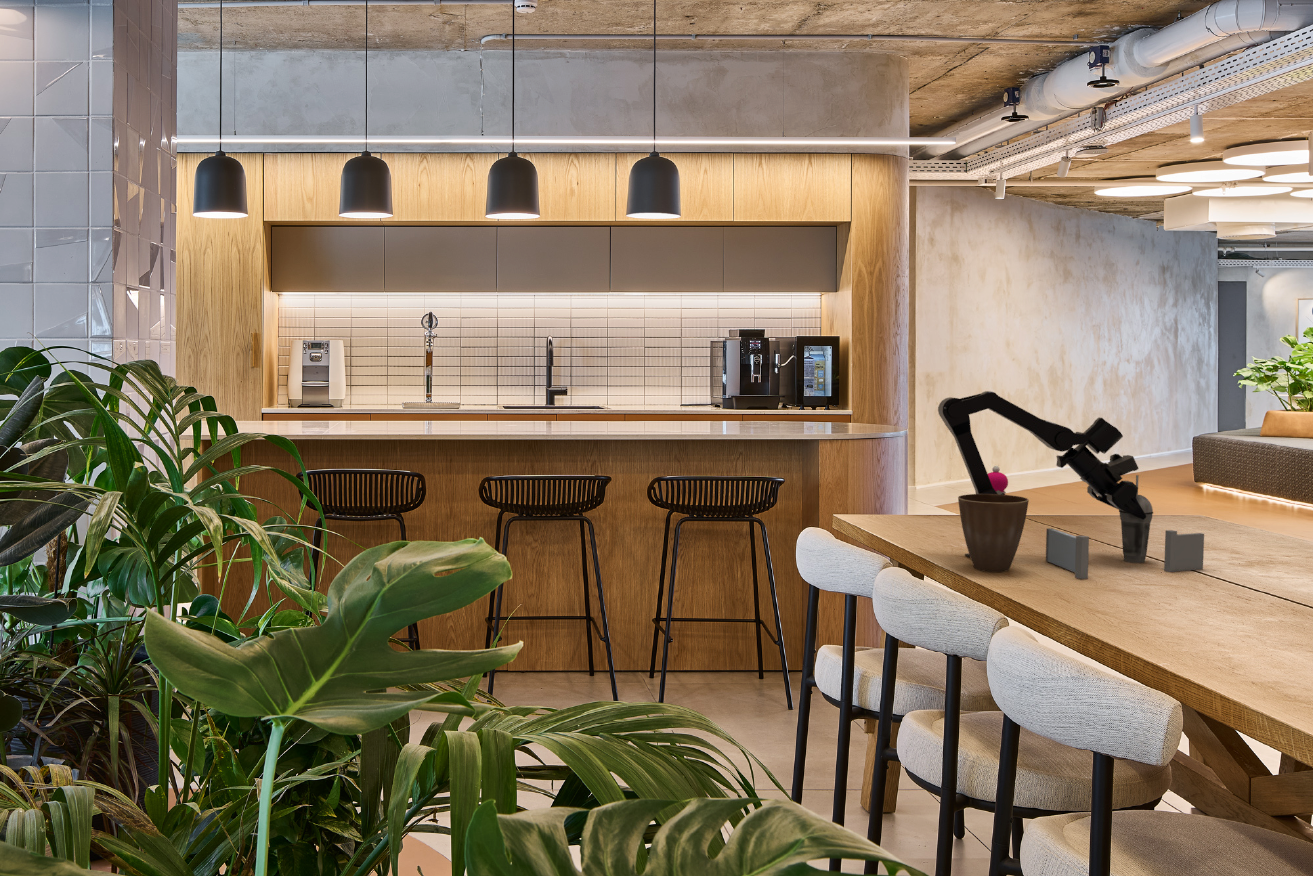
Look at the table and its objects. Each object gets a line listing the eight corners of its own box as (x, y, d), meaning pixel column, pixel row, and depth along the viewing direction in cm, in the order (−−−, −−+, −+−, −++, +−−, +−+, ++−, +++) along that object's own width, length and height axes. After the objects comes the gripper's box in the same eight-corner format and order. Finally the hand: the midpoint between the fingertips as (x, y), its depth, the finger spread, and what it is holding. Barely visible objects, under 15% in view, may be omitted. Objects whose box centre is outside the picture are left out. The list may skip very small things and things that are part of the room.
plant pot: (1031, 577, 217) (1033, 503, 216) (959, 574, 220) (961, 501, 219) (1021, 564, 232) (1023, 494, 231) (953, 561, 235) (955, 493, 234)
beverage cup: (1116, 562, 235) (1118, 476, 233) (1118, 557, 241) (1120, 473, 240) (1151, 565, 231) (1154, 477, 230) (1152, 559, 238) (1155, 474, 236)
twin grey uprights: (1080, 579, 215) (1082, 537, 215) (1074, 577, 217) (1076, 535, 216) (1204, 569, 226) (1205, 529, 225) (1197, 568, 228) (1198, 528, 227)
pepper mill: (1013, 546, 256) (1015, 467, 255) (984, 546, 256) (986, 467, 255) (1003, 541, 263) (1005, 464, 262) (975, 541, 263) (977, 464, 262)
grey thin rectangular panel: (1088, 575, 218) (1089, 541, 217) (1081, 575, 218) (1083, 541, 217) (1051, 560, 235) (1052, 528, 235) (1045, 560, 235) (1046, 528, 235)
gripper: (1129, 446, 226) (1180, 496, 225) (1102, 440, 244) (1148, 486, 244) (1091, 481, 227) (1142, 530, 226) (1067, 473, 245) (1113, 518, 245)
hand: (1137, 515), depth 235 cm, fingers open, 9 cm apart
